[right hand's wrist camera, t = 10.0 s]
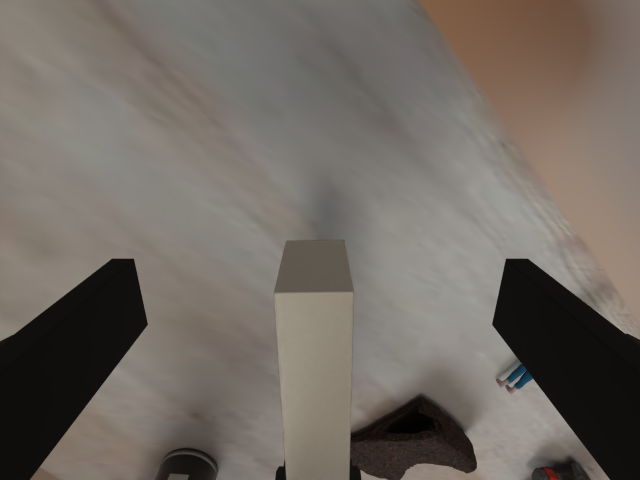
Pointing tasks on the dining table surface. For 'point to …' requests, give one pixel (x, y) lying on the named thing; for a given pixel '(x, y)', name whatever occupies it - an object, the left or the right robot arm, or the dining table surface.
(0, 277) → the dining table surface
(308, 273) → the bar
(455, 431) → the axe head
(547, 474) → the valve
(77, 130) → the dining table surface
